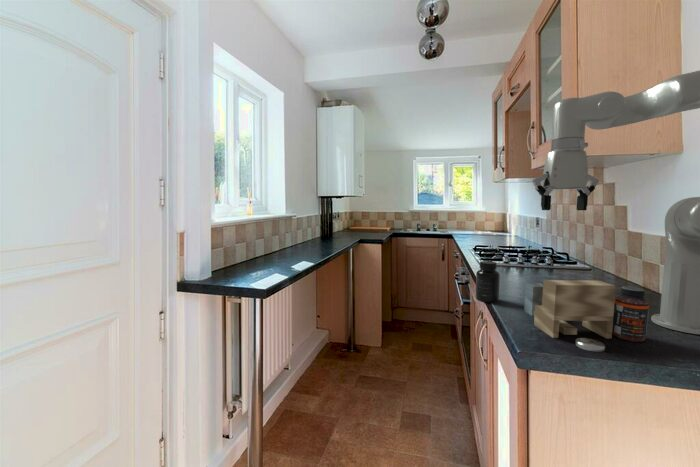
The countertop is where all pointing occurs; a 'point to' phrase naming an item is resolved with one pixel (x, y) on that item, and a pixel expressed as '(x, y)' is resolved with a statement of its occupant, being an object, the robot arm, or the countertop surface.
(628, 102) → the robot arm
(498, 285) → the supplement bottle
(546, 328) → the oak step stool
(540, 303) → the grey rectangular block
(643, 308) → the supplement bottle
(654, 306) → the countertop surface
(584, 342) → the steel token
